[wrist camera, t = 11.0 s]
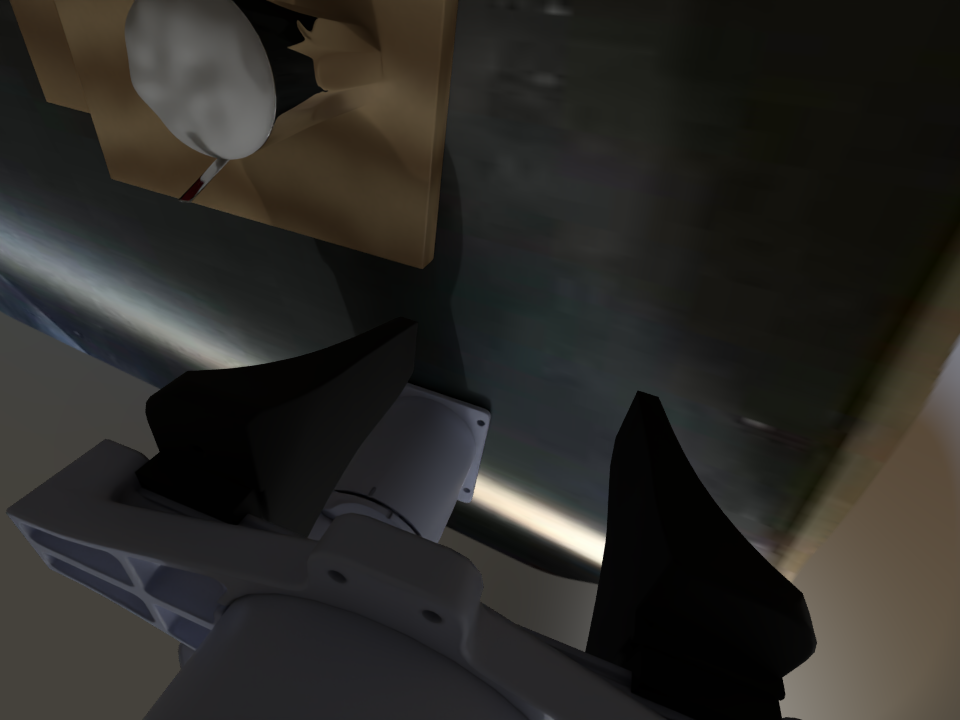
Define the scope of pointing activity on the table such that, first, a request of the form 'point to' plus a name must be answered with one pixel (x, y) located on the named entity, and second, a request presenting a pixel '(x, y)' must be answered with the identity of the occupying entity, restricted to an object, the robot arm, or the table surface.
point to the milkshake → (246, 72)
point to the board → (293, 161)
